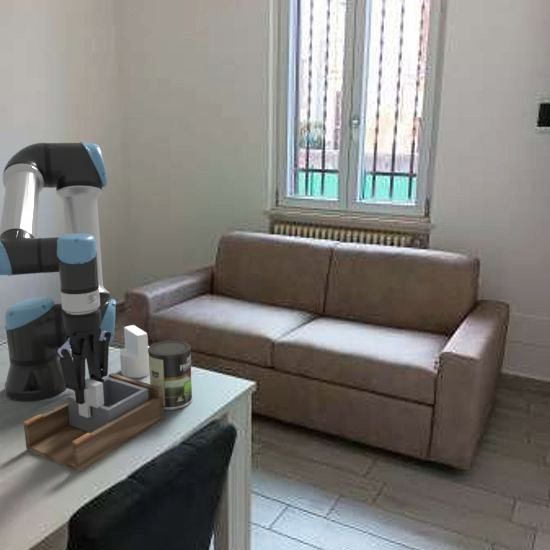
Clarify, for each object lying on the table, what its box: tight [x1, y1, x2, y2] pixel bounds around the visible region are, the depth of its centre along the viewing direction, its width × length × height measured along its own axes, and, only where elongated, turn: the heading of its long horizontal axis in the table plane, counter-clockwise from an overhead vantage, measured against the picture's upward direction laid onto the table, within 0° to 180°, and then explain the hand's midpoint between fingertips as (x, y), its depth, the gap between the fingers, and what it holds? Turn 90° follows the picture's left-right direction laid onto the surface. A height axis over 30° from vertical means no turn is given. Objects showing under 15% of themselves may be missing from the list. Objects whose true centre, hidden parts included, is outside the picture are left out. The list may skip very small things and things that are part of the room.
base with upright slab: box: [119, 324, 151, 379], centre depth 162 cm, size 9×9×12 cm
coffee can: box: [148, 340, 193, 411], centre depth 145 cm, size 10×10×14 cm
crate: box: [67, 376, 149, 433], centre depth 131 cm, size 13×12×12 cm
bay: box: [23, 372, 165, 473], centre depth 129 cm, size 16×25×8 cm, turn 149°
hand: (89, 412), depth 127 cm, fingers closed on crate, 2 cm apart
